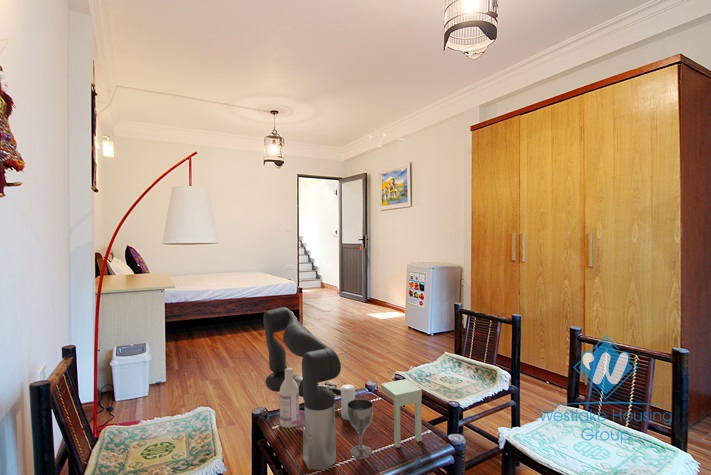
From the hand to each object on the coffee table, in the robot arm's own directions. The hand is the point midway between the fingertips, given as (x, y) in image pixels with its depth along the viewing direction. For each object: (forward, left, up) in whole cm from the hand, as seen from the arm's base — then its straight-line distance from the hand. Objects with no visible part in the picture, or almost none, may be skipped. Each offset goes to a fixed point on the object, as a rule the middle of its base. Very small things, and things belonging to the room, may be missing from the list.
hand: (334, 396), depth 140 cm
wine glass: (-1, -27, -7) cm, 28 cm away
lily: (-13, -10, -7) cm, 18 cm away
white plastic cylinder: (+4, -4, -7) cm, 9 cm away
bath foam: (-18, 0, -7) cm, 19 cm away
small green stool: (+15, -25, -6) cm, 30 cm away
